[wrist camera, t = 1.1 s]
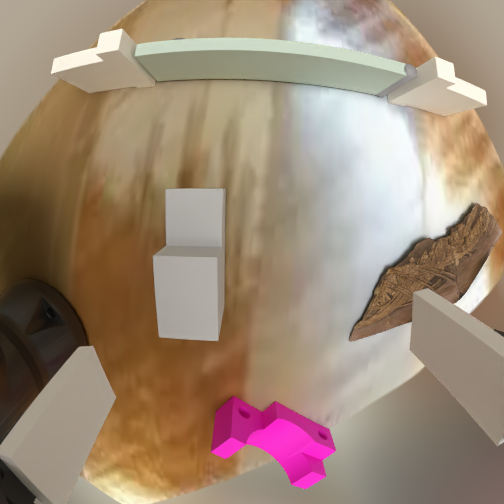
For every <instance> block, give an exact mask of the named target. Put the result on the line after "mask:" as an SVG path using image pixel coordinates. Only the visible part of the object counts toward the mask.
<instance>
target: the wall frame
mask: <svg viewBox="0 0 504 504" xmlns="http://www.w3.org/2000/svg"><path fill="white" fill-rule="evenodd" d="M136 46H137V45H136V44H135V43H134V41H133V40H132V39H131V38H130V37H129V36H128V34H127V33H126V32H125V31H124V30H123V29H119V30H114V31H110V32H105V33H101V34H100V37H99V41H98V45H97V47H96V48H92V49H88V50H84V51H80V52H76V53H72V54H69V55H65V56H62V57H58V58H55V59H54V62H53V66H52V71H51V74H52V75H54V76H56V77H58V78H60V79H62V80H64V81H66V82H68V83H70V84H72V85H74V86H76V87H78V88H80V89H82V90H84V91H86V92H88V93H95V92H101V91H108V90H114V89H121V88H129V87H136V88H144V87H155V82H156V79H155V78H154V77H153V76H152V75H151V73H150V72H149V71H148V70H147V69H146V68H145V67H144V66H143V65H142V64H141V62H140V61H139V60H138V59H137V58H136V57H135V52H136ZM416 70H417V77H416V78H414V79H413V80H411V81H409V82H407V83H406V84H404V85H402V86H400V87H399V88H397V89H395V90H394V91H392V92H390V93H388V103H391V104H396V105H400V106H410V107H414V108H418V109H421V110H425V111H428V112H431V113H435V114H438V115H441V116H444V117H445V116H448V115H452V114H455V113H459V112H463V111H467V110H470V109H474V108H478V107H482V106H486V105H487V100H486V93H485V90H482V89H481V88H478V87H476V86H474V85H472V84H470V83H467V82H465V81H463V80H460V79H458V78H456V77H455V73H454V66H453V64H452V63H450V62H448V61H445V60H443V59H440V58H438V57H434V58H432V59H430V60H429V61H427V62H425V63H424V64H422V65H420V66H419V67H417V68H416Z"/></svg>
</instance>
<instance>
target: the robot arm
mask: <svg viewBox="0 0 504 504" xmlns="http://www.w3.org/2000/svg"><path fill="white" fill-rule="evenodd" d="M410 350H411V351H412V352H413V353H414V355H415V356H416V357H417V358H418V359H419V360H420V361H421V362H422V363H423V364H424V365H425V366H426V367H427V368H428V369H429V370H430V371H431V372H432V374H434V376H436V378H437V379H438V380H439V381H440V382H441V383H442V384H443V385H444V386H445V387H446V389H447V390H448V391H449V392H450V393H451V394H452V395H453V396H454V397H455V399H456V400H457V401H458V402H459V403H460V404H461V405H462V406H463V407H464V409H465V410H466V411H467V412H468V413H469V414H470V415H471V416H472V418H473V419H474V420H475V421H476V422H477V423H478V424H479V426H480V427H481V428H482V429H483V430H484V431H485V432H486V433H487V435H488V436H489V437H490V438H491V439H492V441H493V442H494V443H495V444H496V445H497V446H498V445H500V444H501V443H503V442H504V332H501V331H498V330H495V329H494V330H492V329H491V328H489V327H488V326H486V325H485V324H483V323H482V322H480V321H479V320H477V319H476V318H474V317H473V316H471V315H470V314H468V313H467V312H465V311H463V310H462V309H460V308H459V307H457V306H456V305H454V304H452V303H451V302H449V301H448V300H446V299H445V298H443V297H441V296H440V295H438V294H436V293H435V292H433V291H432V290H430V289H428V288H427V289H423V290H420V291H416V292H413V310H412V328H411V340H410ZM115 399H116V396H115V394H114V392H113V390H112V388H111V386H110V384H109V381H108V379H107V377H106V375H105V373H104V370H103V368H102V366H101V364H100V361H99V359H98V356H97V354H96V352H95V349H94V347H93V346H87V341H86V337H85V333H84V331H83V328H82V326H81V324H80V321H79V320H78V318H77V316H76V314H75V313H74V311H73V310H72V308H71V307H70V305H69V304H68V303H67V302H66V301H65V299H64V298H63V297H62V296H61V295H60V294H59V293H58V292H56V291H55V290H54V289H53V288H51V287H50V286H48V285H47V284H45V283H43V282H40V281H38V280H33V279H24V280H21V281H18V282H16V283H14V284H13V285H11V286H9V287H8V288H6V289H5V290H4V291H3V293H2V294H1V295H0V504H34V503H33V502H34V500H35V498H37V499H38V500H39V501H40V502H41V503H42V504H67V503H68V500H69V498H70V496H71V493H72V491H73V488H74V486H75V484H76V482H77V479H78V477H79V475H80V473H81V471H82V468H83V466H84V464H85V462H86V460H87V457H88V455H89V453H90V451H91V449H92V447H93V444H94V442H95V440H96V438H97V436H98V434H99V432H100V430H101V428H102V426H103V424H104V422H105V419H106V417H107V415H108V413H109V411H110V409H111V407H112V405H113V403H114V401H115Z"/></svg>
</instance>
